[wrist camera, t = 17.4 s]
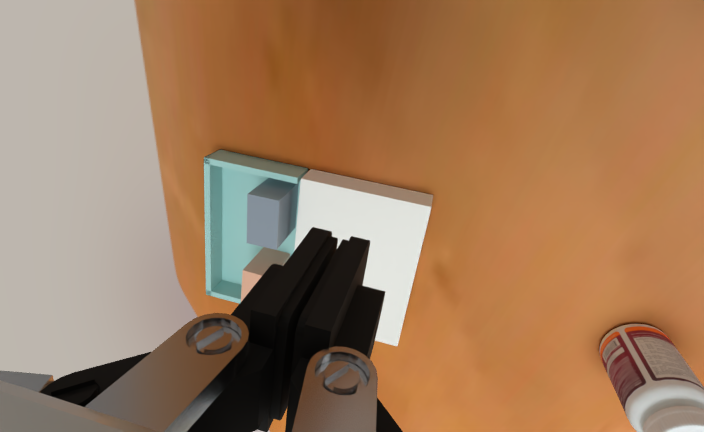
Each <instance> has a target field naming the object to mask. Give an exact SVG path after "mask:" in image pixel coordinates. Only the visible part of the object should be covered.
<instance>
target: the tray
mask: <svg viewBox="0 0 704 432" xmlns="http://www.w3.org/2000/svg"><path fill="white" fill-rule="evenodd" d="M307 172H308V168H304V167H300V166H295V165H290V164H286V163H281V162H276V161H272V160H267V159H262V158H258V157H253V156H248V155H244V154H239V153H234V152H230V151H225V150H218V151H216V152H214V153H212V154H210V155H208V156H206V157H204V195H205V255H206V295H210V296H214V297H217V298H221V299H225V300H228V301H232V302H236V303H239V304H240V303H241V289H242V273H243V269H244V268H245V267H246V266H247V265H248V264H249V263H250V261H251V260H252V259H253V258H254V257H255V256H256V255H257V254H258V253H259V252H260V250H261V249H262V248H263V247H261V246H257V245H253V244H249V243H247V194H248V193H249V192H251V191H252V190H253V189H255V188H256V187H257V186H259V185H260V184H261V183H262V182H264V181H265V180H266V179H268V178H273V179H277V180H282V181H286V182H291V183H295V184H298V183H299V186H298V200H297V213H296V226H297V215H298V204H299V193H300V182H301V178H302V177H303V176H304V175H305V174H306V173H307ZM296 226H295V229H294V230H293V231H292V232H291V233H290V235H289V236H288V237H287V238H286V239H285V241H284V242H283V243H282V244H281V245H280V247H279V248H278V249H277V250H279V251H282V252H286V253H290V256H291V255H292V254H293V252H294V248H295V237H296Z"/></svg>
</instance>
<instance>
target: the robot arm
mask: <svg viewBox="0 0 704 432" xmlns="http://www.w3.org/2000/svg"><path fill="white" fill-rule="evenodd" d="M337 244H338V238H336V237H332V231H328V230H324V229H319V228H315V227H312V228H311V230H310V231H309V232H308V234H307V235H306V236H305V238H304V239H303V240H302V242H301V243H300V244H299V246H298V247H297V248H296V250H295V251H294V252H293V254H292V255H291V256H290V258H289V259H288V260H287V262H286V263H285V264H284V266H283V265H279V264H272V265H271V266H270V267H269V268H268V269H267V270H266V272H265V273H264V274H263V275H262V277H261V278H260V279H259V280H258V282H257V283H256V284H255V285H254V287H253V288H252V289H251V290H250V292H249V293H248V294H247V295H246V297H245V298H244V299H243V300H242V302H241V303H240V304H239V305H238V307H237V308H236V309H235V310H234V312H233V313H232V314H231V315H229V314H222V313H213V314H207V315H203V316H200V317H197V318H195V319H193V320H192V321H190V322H188V323H187V324H186V325H184V326H183V327H182V328H181V329H179V330H178V331H177V332H176V333H174V334H173V335H172V336H171V337H170V338H168V339H167V340H166V341H165V342H163V343H162V344H161V345H160V346H159V347H157V348H156V349H155V350H154V351H153V352H149V353H145V354H141V355H137V356H134V357H130V358H126V359H123V360H119V361H115V362H111V363H108V364H104V365H101V366H97V367H93V368H89V369H86V370H82V371H78V372H74V373H72V374H69V375H66V376H64V377H61V378H59V379H57V380H56V381H54V380H53V376H52V375H44V374H33V373H22V372H10V371H0V432H253V431H255V430H257V429H258V430H261V431H264V432H267V431H268V430H269V428H270V425H271V423H272V421H273V419H277V420H281V419H282V417H283V415H284V413H285V411H286V408H287V406H288V408H287V418H286V430H285V432H403V431H402V430H401V429H400V427H399V426H398V425H397V423H396V422H395V421H394V419H393V418H392V417H391V415H390V414H389V413H388V411H387V410H386V409H385V407H384V406H383V405H382V403H381V402H380V401H379V399H378V398H377V382H378V377H377V371H376V368H375V366H374V365H373V363H372V361H371V360H370V356H371V353H372V349H373V345H374V341H375V337H376V333H377V329H378V325H379V320H380V316H381V311H382V306H383V302H384V297H385V291H382V290H378V289H374V288H370V287H366V286H363V280H364V275H365V269H366V264H367V258H368V253H369V247H370V240H366V239H362V238H358V237H353V236H351V237H350V239H349V241H348V240H344V239H343V240H342V241H341V243H340V245H339V247H338V248H337Z"/></svg>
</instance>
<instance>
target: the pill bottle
mask: <svg viewBox="0 0 704 432" xmlns="http://www.w3.org/2000/svg"><path fill="white" fill-rule="evenodd" d="M599 353H600V357H601V360H602V362H603V365H604V367H605V369H606V371H607V373H608V376H609V378H610V380H611V382H612V384H613V387H614V389H615V391H616V393H617V395H618V397H619V400H620V402H621V404H622V406H623V409H624V411H625V413H626V416H627V418H628V419H629V421H630V423H631V425H632V426H633V428H634V429H635V430H636V431H637V432H704V387H703V385H702V384H701V383H700V381H699V380H698V378H697V377H696V376H695V374H694V373H693V371H692V370H691V369H690V367H689V366H688V364H687V363H686V361H685V360H684V359H683V357H682V356H681V354H680V353H679V351H678V350H677V349H676V347H675V346H674V344H673V343H672V342H671V340H670V339H669V338H668V337H667V336H666V334H664V333H663V332H662V331H661V330H659V329H657V328H655V327H652V326H649V325H645V324H628V325H623V326H620V327H617V328H615V329H613V330H611V331H610V332H609V333H607V334H606V336H605V337H604V338H603V340H602V342H601V344H600V348H599Z"/></svg>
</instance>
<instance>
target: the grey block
mask: <svg viewBox="0 0 704 432" xmlns="http://www.w3.org/2000/svg"><path fill="white" fill-rule="evenodd" d="M298 186H299V183H298V184H295V183H291V182H286V181H282V180H277V179H273V178H268V179H266V180H265V181H264V182H262V183H261V184H260V185H259V186H257V187H256V188H255V189H253V190H252V191H251V192H249V193H248V194H247V243H249V244H253V245H257V246H261V247H266V248H270V249H274V250H277V249H278V248H279V247H280V245H281V244H282V243H283V242H284V241H285V239H286V238H287V237H288V236H289V235H290V233H291V232H292V231H293V230H294V229H295V226H296V213H297V200H298Z"/></svg>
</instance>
